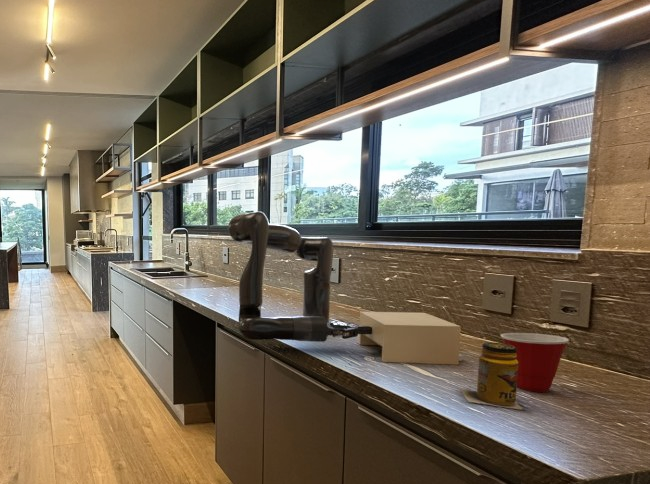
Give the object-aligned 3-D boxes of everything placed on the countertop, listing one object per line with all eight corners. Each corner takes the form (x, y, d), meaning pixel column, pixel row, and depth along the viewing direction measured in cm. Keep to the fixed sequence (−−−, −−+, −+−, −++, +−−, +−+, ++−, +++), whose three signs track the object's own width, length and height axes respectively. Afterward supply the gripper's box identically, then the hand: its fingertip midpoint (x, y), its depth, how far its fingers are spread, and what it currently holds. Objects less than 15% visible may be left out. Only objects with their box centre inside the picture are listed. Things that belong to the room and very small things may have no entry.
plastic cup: (515, 376, 100) (518, 327, 99) (576, 392, 90) (581, 338, 88) (485, 382, 96) (488, 332, 95) (545, 399, 86) (550, 344, 85)
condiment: (523, 410, 82) (527, 351, 80) (468, 402, 86) (472, 346, 85) (510, 397, 88) (514, 342, 87) (459, 390, 92) (463, 338, 91)
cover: (358, 343, 130) (360, 311, 129) (423, 345, 126) (424, 312, 125) (383, 361, 112) (384, 324, 111) (458, 364, 109) (461, 326, 108)
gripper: (313, 321, 117) (380, 322, 114) (302, 312, 130) (363, 313, 127) (313, 346, 118) (380, 348, 114) (302, 335, 131) (362, 336, 127)
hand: (370, 330), depth 121 cm, fingers closed
